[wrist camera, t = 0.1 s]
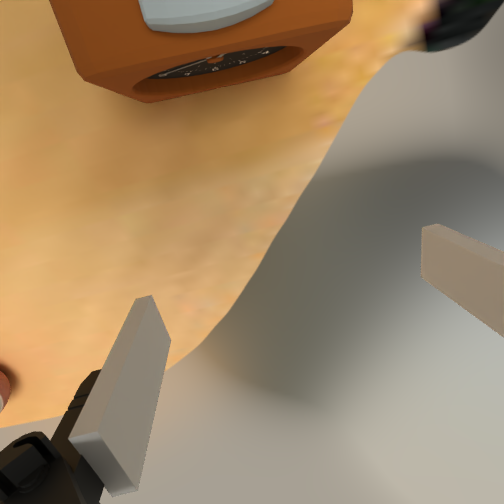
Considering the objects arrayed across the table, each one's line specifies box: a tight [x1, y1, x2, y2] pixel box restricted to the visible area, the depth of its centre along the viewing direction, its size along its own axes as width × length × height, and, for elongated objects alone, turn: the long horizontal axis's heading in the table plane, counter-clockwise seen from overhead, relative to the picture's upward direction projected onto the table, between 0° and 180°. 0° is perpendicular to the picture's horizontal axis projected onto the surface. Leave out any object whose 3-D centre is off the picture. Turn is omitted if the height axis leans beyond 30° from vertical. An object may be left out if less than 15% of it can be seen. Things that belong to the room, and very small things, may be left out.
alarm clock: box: [49, 0, 353, 103], centre depth 24 cm, size 18×9×21 cm, turn 102°
